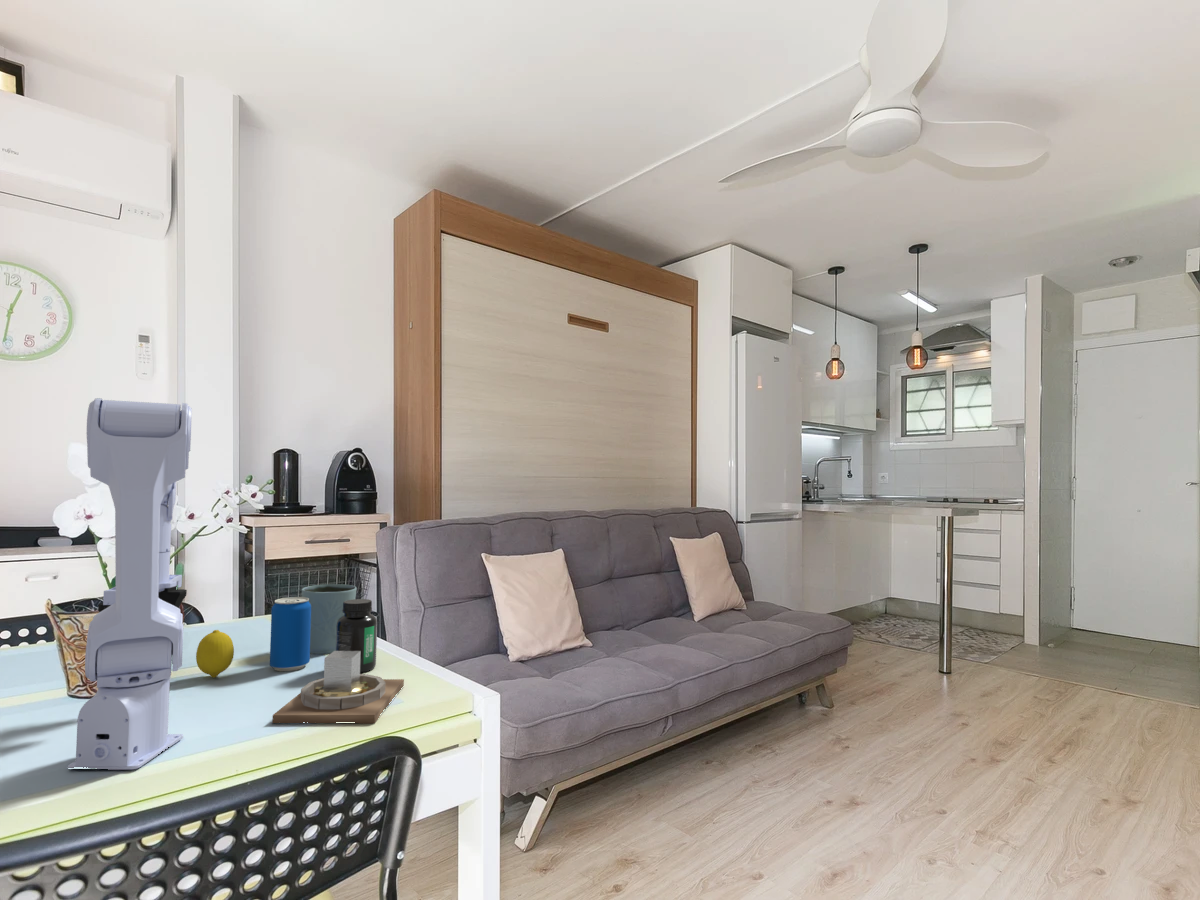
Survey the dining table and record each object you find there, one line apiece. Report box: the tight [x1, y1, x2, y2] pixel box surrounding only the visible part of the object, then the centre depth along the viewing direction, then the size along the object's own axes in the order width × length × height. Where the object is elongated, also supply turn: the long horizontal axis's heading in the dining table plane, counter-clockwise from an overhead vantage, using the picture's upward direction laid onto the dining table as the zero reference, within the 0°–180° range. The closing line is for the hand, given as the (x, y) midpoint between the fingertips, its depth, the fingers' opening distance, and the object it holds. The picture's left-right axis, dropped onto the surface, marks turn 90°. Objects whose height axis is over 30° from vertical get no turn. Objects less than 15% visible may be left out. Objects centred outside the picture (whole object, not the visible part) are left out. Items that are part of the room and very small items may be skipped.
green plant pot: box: [301, 583, 357, 655], centre depth 131 cm, size 10×10×12 cm
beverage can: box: [269, 596, 311, 672], centre depth 118 cm, size 6×6×12 cm
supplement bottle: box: [336, 598, 378, 674], centre depth 117 cm, size 7×7×12 cm
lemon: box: [195, 629, 235, 678], centre depth 111 cm, size 6×6×8 cm
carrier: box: [271, 673, 405, 725], centre depth 99 cm, size 16×14×3 cm
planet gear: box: [314, 651, 369, 697], centre depth 99 cm, size 8×8×6 cm
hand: (143, 645), depth 95 cm, fingers open, 7 cm apart
